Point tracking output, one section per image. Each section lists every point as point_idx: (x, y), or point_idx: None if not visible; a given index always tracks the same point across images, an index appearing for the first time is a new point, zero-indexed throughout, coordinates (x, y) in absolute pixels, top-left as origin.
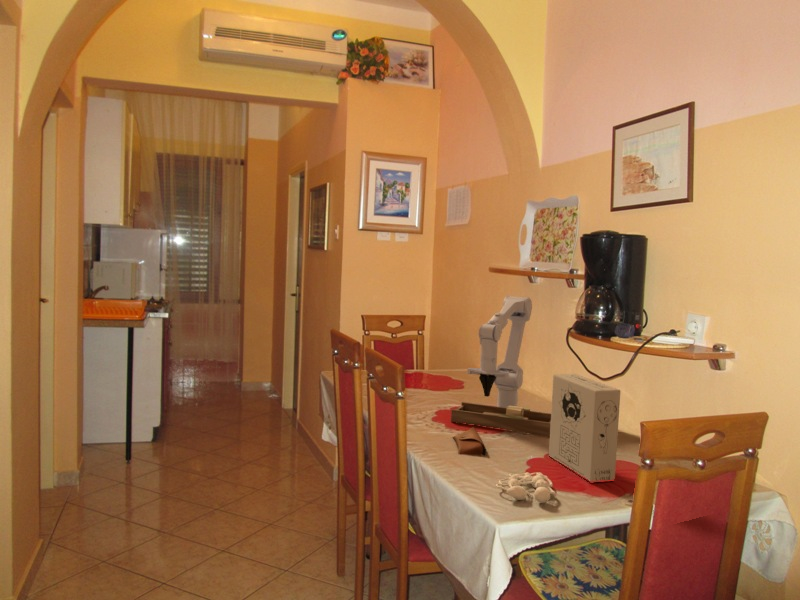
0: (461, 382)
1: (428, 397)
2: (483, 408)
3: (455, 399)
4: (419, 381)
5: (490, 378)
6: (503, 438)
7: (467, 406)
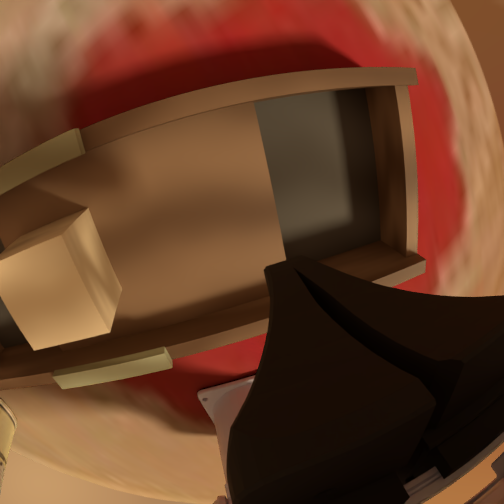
0: None
1: None
2: None
3: None
4: None
5: (303, 449)
6: (25, 25)
7: (389, 262)
